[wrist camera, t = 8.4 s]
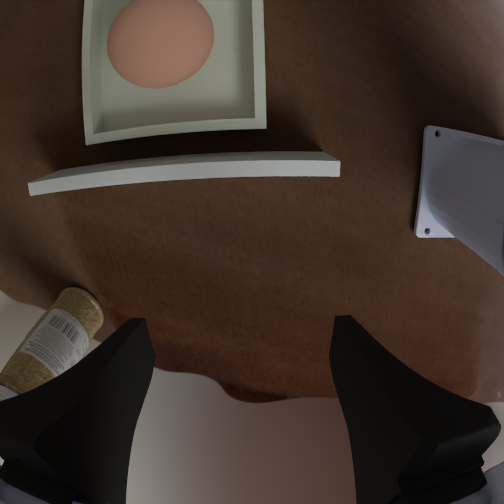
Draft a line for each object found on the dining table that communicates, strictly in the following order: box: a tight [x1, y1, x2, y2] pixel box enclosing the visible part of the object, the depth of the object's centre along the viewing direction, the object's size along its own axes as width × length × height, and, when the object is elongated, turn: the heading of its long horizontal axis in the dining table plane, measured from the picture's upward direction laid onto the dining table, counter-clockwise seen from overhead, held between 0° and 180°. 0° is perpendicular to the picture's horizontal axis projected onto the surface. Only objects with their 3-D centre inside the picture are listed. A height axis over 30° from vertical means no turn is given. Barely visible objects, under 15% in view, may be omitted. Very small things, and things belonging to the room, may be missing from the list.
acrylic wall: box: [28, 151, 340, 196], centre depth 17 cm, size 18×1×4 cm, turn 91°
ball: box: [107, 0, 214, 88], centre depth 13 cm, size 6×6×6 cm
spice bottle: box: [0, 287, 104, 401], centre depth 18 cm, size 5×5×14 cm
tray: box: [82, 0, 266, 145], centre depth 15 cm, size 11×11×2 cm
